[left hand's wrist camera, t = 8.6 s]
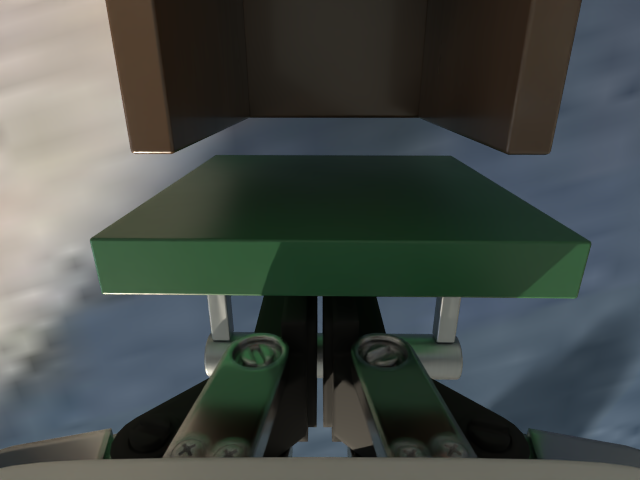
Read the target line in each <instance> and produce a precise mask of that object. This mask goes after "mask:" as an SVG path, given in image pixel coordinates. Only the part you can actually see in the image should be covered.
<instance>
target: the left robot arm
mask: <svg viewBox="0 0 640 480" xmlns="http://www.w3.org/2000/svg"><path fill="white" fill-rule="evenodd" d="M316 426H317V296H264V298H263V302H262V305H261V309H260V313H259V317H258V321H257V325H256V329H255V332H254V334H248V335H245V336H243V337H240V338H238V339H237V340H235V341H234V342H232V343H231V344H230V345H229V346H228V348H227V349H226V351H225V352H224V354H223V356H222V357H221V359H220V361H219V363H218V364H217V366H216V368H215V369H214V371H213V373H212V374H211V376H210V378H208V379H206V380H205V381H203V382H201V383H199V384H197V385H195V386H194V387H192V388H190V389H188V390H186V391H184V392H183V393H181V394H179V395H177V396H175V397H173V398H172V399H170V400H168V401H166V402H164V403H162V404H161V405H159V406H157V407H155V408H153V409H151V410H150V411H148V412H146V413H144V414H142V415H140V416H139V417H137V418H135V419H134V420H132V421H131V422H129V423H128V424H126V425H125V426H124V427H123V428H122V429H121V430H120V431H119V432H118V433H117V434H113V433H112V429H111V428H110V429H105V430H99V431H93V432H88V433H82V434H77V435H71V436H65V437H60V438H54V439H48V440H43V441H37V442H31V443H26V444H20V445H15V446H11V447H8V448H4V449H1V450H0V480H640V450H639V449H636V448H632V447H629V446H625V445H620V444H614V443H609V442H603V441H597V440H592V439H586V438H580V437H575V436H569V435H563V434H558V433H552V432H547V431H541V430H535V429H530V428H529V429H528V433H527V434H523V433H522V432H521V431H520V430H519V429H518V428H517V427H516V426H515V425H514V424H512V423H511V422H509V421H508V420H506V419H505V418H503V417H501V416H500V415H498V414H496V413H494V412H492V411H490V410H489V409H487V408H485V407H483V406H481V405H479V404H478V403H476V402H474V401H472V400H470V399H468V398H467V397H465V396H463V395H461V394H459V393H457V392H456V391H454V390H452V389H450V388H448V387H446V386H445V385H443V384H441V383H439V382H437V381H435V380H434V379H432V378H430V376H429V374H428V373H427V371H426V369H425V368H424V366H423V364H422V363H421V361H420V359H419V357H418V356H417V354H416V352H415V351H414V349H413V348H412V346H411V345H410V344H409V343H408V342H406V341H405V340H403V339H402V338H400V337H397V336H395V335H392V334H386V332H385V329H384V325H383V321H382V317H381V313H380V309H379V305H378V302H377V298H376V297H371V296H323V426H324V427H332V442H343V443H345V444H346V445H347V446H348V449H347V454H348V457H292V454H293V449H292V446H293V445H294V444H295V443H297V442H308V427H316Z"/></svg>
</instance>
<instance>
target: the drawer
mask: <svg viewBox="0 0 640 480" xmlns="http://www.w3.org/2000/svg"><path fill="white" fill-rule="evenodd" d="M105 1H106V7H107V12H108V18H109V24H110V30H111V36H112V42H113V48H114V54H115V59H116V65H117V71H118V77H119V83H120V89H121V95H122V101H123V107H124V112H125V118H126V124H127V130H128V136H129V142H130V148H131V151H132V153H135V154H173V153H175V152H177V151H179V150H181V149H183V148H185V147H188V146H190V145H192V144H194V143H196V142H198V141H200V140H203V139H205V138H207V137H209V136H211V135H213V134H215V133H217V132H220V131H222V130H224V129H226V128H228V127H230V126H232V125H234V124H237V123H239V122H241V121H243V120H245V119H247V118H421V119H423V120H426V121H428V122H431V123H433V124H435V125H438V126H440V127H443V128H445V129H448V130H450V131H452V132H455V133H457V134H460V135H462V136H464V137H467V138H469V139H472V140H474V141H477V142H479V143H481V144H484V145H486V146H489V147H491V148H494V149H496V150H498V151H501V152H503V153H506V154H508V155H546V154H549V153H550V151H551V147H552V142H553V138H554V133H555V128H556V123H557V118H558V113H559V109H560V104H561V99H562V94H563V89H564V84H565V79H566V75H567V70H568V65H569V60H570V55H571V50H572V45H573V41H574V36H575V31H576V26H577V21H578V16H579V11H580V7H581V2H582V0H105ZM90 243H91V247H92V252H93V256H94V261H95V265H96V269H97V274H98V278H99V283H100V287H101V292H102V294H150V295H207V299H208V308H209V316H210V325H211V333H210V335H209V337H208V339H207V343H206V347H205V356H204V363H205V371H206V374H207V375H208V376H211V374H212V373H213V371H214V369H215V368H216V366H217V364H218V363H219V361H220V359H221V357H222V356H223V354H224V352H225V351H226V349H227V348H228V346H229V345H230V344H231V343H232V342H234V341H235V340H237V339H238V338H240V337H243V336H245V335H248V334H254V332H233V331H234V327H233V316H232V305H231V295H261V296H371V297H437V299H436V307H435V316H434V324H433V334H392V335H395V336H397V337H400V338H402V339H403V340H405V341H406V342H408V343H409V344H410V345H411V346H412V348H413V349H414V351H415V352H416V354H417V356H418V357H419V359H420V361H421V363H422V364H423V366H424V368H425V369H426V371H427V373H428V374H429V376H430V378H432V379H448V380H457V379H459V378H460V376H461V373H462V364H463V360H462V351H461V346H460V343H459V340H458V338H457V337H456V336H455V335H456V328H457V321H458V315H459V308H460V301H461V297H481V298H577V296H578V293H579V289H580V285H581V281H582V277H583V274H584V270H585V266H586V262H587V259H588V255H589V251H590V247H591V242H590V241H589V240H587V239H586V238H584V237H582V236H581V235H579V234H577V233H576V232H574V231H573V230H571V229H569V228H568V227H566V226H564V225H563V224H561V223H560V222H558V221H556V220H555V219H553V218H551V217H550V216H548V215H547V214H545V213H543V212H542V211H540V210H538V209H537V208H535V207H534V206H532V205H530V204H529V203H527V202H525V201H524V200H522V199H521V198H519V197H517V196H516V195H514V194H512V193H511V192H509V191H508V190H506V189H504V188H503V187H501V186H499V185H498V184H496V183H495V182H493V181H491V180H490V179H488V178H486V177H485V176H483V175H482V174H480V173H478V172H477V171H475V170H473V169H472V168H470V167H469V166H467V165H465V164H464V163H462V162H460V161H459V160H457V159H456V158H454V157H452V156H332V155H215V156H214V157H212V158H211V159H209V160H208V161H206V162H205V163H203V164H202V165H200V166H199V167H197V168H196V169H194V170H193V171H191V172H190V173H188V174H187V175H185V176H184V177H182V178H181V179H179V180H178V181H176V182H175V183H173V184H172V185H170V186H169V187H167V188H166V189H164V190H163V191H161V192H160V193H158V194H157V195H155V196H154V197H152V198H151V199H149V200H148V201H146V202H145V203H143V204H142V205H140V206H139V207H137V208H136V209H134V210H133V211H131V212H130V213H128V214H127V215H125V216H124V217H122V218H121V219H119V220H118V221H116V222H115V223H113V224H112V225H110V226H109V227H107V228H106V229H104V230H103V231H101V232H100V233H98V234H97V235H95V236H93V237H92V238H91V239H90ZM317 378H323V333H317Z"/></svg>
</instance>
